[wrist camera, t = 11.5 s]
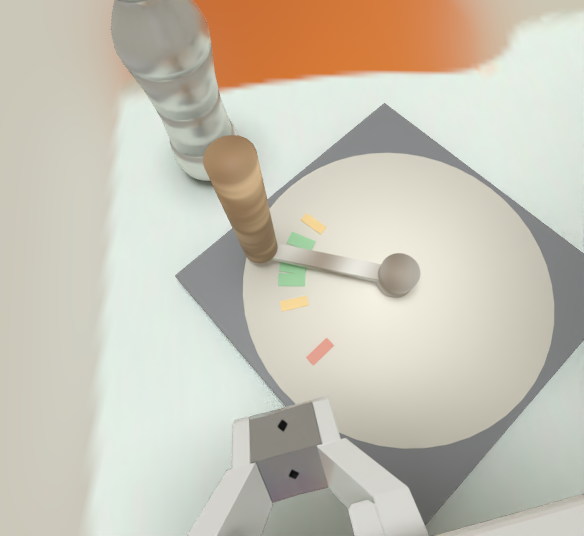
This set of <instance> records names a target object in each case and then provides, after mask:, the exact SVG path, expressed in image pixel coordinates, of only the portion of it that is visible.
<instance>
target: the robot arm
mask: <svg viewBox="0 0 584 536" xmlns="http://www.w3.org/2000/svg"><path fill="white" fill-rule="evenodd" d="M312 402H313V403H312ZM328 487H329V489H330V490H331V491H332V492H333V493H334V494H335V496H336V497H337V498H338V499H339V500H340V501H341V502H342V503H343V504H344V505H345V506H346V508H347V509H348V511H349V515H350V520H351V524H352V528H353V532H354V536H429V534H428V532H427V529H426V527H425V525H424V522H423V520H422V518H421V515H420V513H419V511H418V509H417V506H416V504H415V502H414V499H413V497H412V495H411V492H410V490H409V488H408V487H407V486H406V485H405V484H404V483H402V482H401V481H400V480H398V479H397V478H396V477H395V476H393V475H392V474H391V473H390V472H388V471H387V470H386V469H385V468H383V467H382V466H381V465H379V464H378V463H377V462H376V461H374V460H373V459H372V458H371V457H369V456H368V455H367V454H365V453H364V452H363V451H362V450H360V449H359V448H358V447H357V446H355V445H354V444H353V443H351V442H350V441H349V440H348V439H346V438H343V439H341V438H340V434H339V431H338V428H337V424H336V421H335V417H334V414H333V411H332V407H331V404H330V400H329V397H328V396H324V397H320V398H316V399H313V400H309V401H306V402H302V403H298V404H295V405H291V406H288V407H284V408H281V409H278V410H274V411H270V412H266V413H261V414H257V415H253V416H250V417H246V418H242V419H238V420H234V423H233V432H232V469H229V470H227V471H226V472H225V474H224V476H223V477H222V479H221V481H220V482H219V484H218V486H217V487H216V489H215V490H214V492H213V494H212V495H211V497H210V499H209V500H208V502H207V504H206V505H205V507H204V508H203V510H202V512H201V513H200V515H199V517H198V518H197V520H196V522H195V523H194V525H193V526H192V528H191V530H190V531H189V533H188V535H187V536H261V535H262V532H263V530H264V527H265V524H266V522H267V519H268V516H269V514H270V511H271V509H272V506H273V502H277V501H280V500H283V499H286V498H290V497H293V496H296V495H299V494H303V493H307V492H311V491H316V490H320V489H324V488H328ZM434 536H584V494H582V495H578V496H574V497H571V498H567V499H564V500H560V501H556V502H553V503H549V504H546V505H542V506H539V507H535V508H531V509H528V510H524V511H521V512H517V513H513V514H510V515H506V516H503V517H499V518H495V519H492V520H488V521H485V522H481V523H478V524H474V525H470V526H467V527H463V528H460V529H456V530H452V531H449V532H445V533H442V534H438V535H434Z"/></svg>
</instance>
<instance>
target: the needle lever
mask: <svg viewBox="0 0 584 536" xmlns="http://www.w3.org/2000/svg"><path fill="white" fill-rule="evenodd" d="M203 165H204V168H205V170H206V172H207V175H208V177H209V179H210V181H211V183H212V185H213V187H214V189H215V192H216V194H217V196H218V198H219V200H220V202H221V204H222V206H223V209H224V211H225V213H226V215H227V217H228V219H229V221H230V223H231V226H232V228H233V230H234V232H235V234H236V236H237V238H238V240H239V242H240V245H241V247H242V249H243V251H244V253H245V255H246V257H247V258H248V259H249V260H250V261H252V262H254V263H266V262H268V261H270V260H274V261H279V262H284V263H288V264H293V265H298V266H303V267H308V268H312V269H317V270H322V271H327V272H331V273H336V274H341V275H346V276H350V277H355V278H360V279H365V280H370V281H374V282H377V285H378V287H379V289H380V290H381V291H382V292H383V293H384V294H386V295H388V296H391V297H402V296H404V295H406V294H407V293H408V292H409V291H410V290H411V289H412V288H413V287H414V286H415V285H416V284H417V283H418V281H419V279H420V268H419V265H418V263H417V262H416V261H415V260H414V259H413V258H412V257H411V256H409V255H406V254H403V253H395V254H392V255H389V256H388V257H386V258H385V259H384V261H383V262H382V264H377V263H372V262H367V261H362V260H357V259H352V258H347V257H342V256H337V255H333V254H328V253H323V252H318V251H313V250H308V249H303V248H298V247H293V246H288V245H283V244H278V243H277V240H276V236H275V232H274V227H273V223H272V218H271V214H270V210H269V205H268V201H267V196H266V192H265V188H264V183H263V179H262V174H261V170H260V165H259V161H258V157H257V152H256V149H255V147H254V145H253V144H252V143H251V142H250V141H249V140H248V139H246V138H244V137H241V136H237V135H228V136H223V137H220V138H218V139H216V140H215V141H213V142H212V143H211V144H210V145H209V146H208V147H207V149H206V150H205V152H204V155H203Z"/></svg>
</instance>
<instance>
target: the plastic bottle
mask: <svg viewBox="0 0 584 536" xmlns="http://www.w3.org/2000/svg"><path fill="white" fill-rule="evenodd" d="M111 31H112V38H113V43H114V47H115V50H116V52H117V54H118V56H119V57H120V59H121V60H122V62H123V64H124V65H125V66H126V68H127V69H128V70H129V71H130V73H131V74H132V76H133V77H134V78H135V79H136V81H137V82H138V83H139V85H140V86H141V87H142V89H143V90H144V91H145V93H146V94H147V96H148V97H149V99H150V101H151V102H152V104H153V106H154V107H155V109H156V110H157V112H158V114H159V115H160V117H161V119H162V121H163V124H164V126H165V129H166V131H167V133H168V136H169V138H170V144H171V148H172V151H173V154H174V157H175V159H176V162H177V163H178V164H179V166H180V167H181V168H182V169H183V170H184V171H185V172H186V173H187V174H188V175H189V176H191V177H193V178H195V179H198V180H204V181H210V179H209V177H208V175H207V172H206V170H205V168H204V165H203V155H204V152H205V150H206V149H207V147H208V146H209V145H210V144H211V143H212V142H213V141H215V140H216V139H218V138H220V137H223V136H228V135H237V136H238V134H237V132H236V130H235V128H234V126H233V124H232V123H231V121H230V120H229V118H228V115H227V113H226V111H225V108H224V106H223V103H222V101H221V98H220V94H219V90H218V85H217V81H216V77H215V72H214V64H213V54H212V46H211V39H210V34H209V28H208V24H207V22H206V19H205V17H204V16H203V14H202V12H201V11H200V9H199V7H198V6H197V5H196V4H195V2H194V1H193V0H115V1H114V6H113V12H112V22H111Z"/></svg>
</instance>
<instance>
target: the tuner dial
mask: <svg viewBox="0 0 584 536" xmlns="http://www.w3.org/2000/svg"><path fill="white" fill-rule="evenodd" d="M267 201H268V205H269V210H270V214H271V218H272V223H273V227H274V232H275V236H276V240H277V243H278V244H283V245H288V246H293V247H298V248H303V249H308V250H313V251H318V252H323V253H328V254H333V255H337V256H342V257H347V258H352V259H357V260H362V261H367V262H372V263H377V264H382V262H383V261H384V259H385V258H386V257H388V256H389V255H392V254H395V253H403V254H406V255H409V256H411V257H412V258H413V259H414V260H415V261H416V262H417V263H418V265H419V268H420V279H419V281H418V283H417V284H416V285H415V286H414V287H413V288H412V289H411V290H410V291H409V292H408V293H407V294H406V295H404V296H402V297H391V296H388V295H386V294H384V293H383V292H382V291H381V290H380V289H379V287H378V285H377V282H374V281H370V280H365V279H360V278H355V277H350V276H346V275H341V274H336V273H331V272H327V271H322V270H317V269H312V268H308V267H303V266H298V265H293V264H288V263H284V262H279V261H274V260H270V261H268V262H266V263H254V262H252V261H250V260H249V259H248V258H247V257H246V255H245V253H244V251H243V249H242V247H241V245H240V242H239V240H238V238H237V236H236V234H235V232H234V230H233V228H232V229H231V230H230V231H229V232H227V233H226V234H225V235H224V236H223V237H221V238H220V239H219V240H218V241H216V242H215V243H214V244H213V245H212V246H210V247H209V248H208V249H207V250H206V251H204V252H203V253H202V254H201V255H199V256H198V257H197V258H196V259H195V260H193V261H192V262H191V263H190V264H189V265H187V266H186V267H185V268H184V269H183V270H181V271H180V272H179V273H178V274H176V275H175V277H176V278H177V279H178V280H179V281H180V283H181V284H182V285H183V286H184V287H185V288H186V290H187V291H188V292H189V293H190V294H191V296H192V297H193V298H194V299H195V300H196V301H197V303H198V304H199V305H200V306H201V307H202V308H203V310H204V311H205V312H206V313H207V314H208V315H209V317H210V318H211V319H212V320H213V321H214V323H215V324H216V325H217V326H218V327H219V328H220V330H221V331H222V332H223V333H224V334H225V335H226V337H227V338H228V339H229V340H230V341H231V342H232V344H233V345H234V346H235V347H236V348H237V350H238V351H239V352H240V353H241V354H242V355H243V357H244V358H245V359H246V360H247V361H248V362H249V364H250V365H251V366H252V367H253V368H254V369H255V371H256V372H257V373H258V374H259V375H260V376H261V378H262V379H263V380H264V381H265V382H266V384H267V385H268V386H269V387H270V388H271V389H272V391H273V392H274V393H275V394H276V395H277V396H278V398H279V399H280V400H281V401H282V402H283V403H284V405H285V406H286V407H288V406H291V405H295V404H298V403H302V402H306V401H309V400H313V399H316V398H320V397H324V396H328V397H329V400H330V404H331V407H332V411H333V414H334V417H335V421H336V424H337V428H338V431H339V434H340V438H341V439H343V438H346V439H348V440H349V441H350V442H351V443H353V444H354V445H355V446H357V447H358V448H359V449H360V450H362V451H363V452H364V453H365V454H367V455H368V456H369V457H371V458H372V459H373V460H374V461H376V462H377V463H378V464H379V465H381V466H382V467H383V468H385V469H386V470H387V471H388V472H390V473H391V474H392V475H393V476H395V477H396V478H397V479H398V480H400V481H401V482H402V483H404V484H405V485H406V486H407V487H408V488H409V490H410V492H411V495H412V497H413V499H414V502H415V504H416V506H417V509H418V511H419V513H420V515H421V518H422V520H423V522H424V525H426V524H427V523H428V521H429V520H430V519H431V518H432V517H433V516H434V514H435V513H436V512H437V511H438V510H439V509H440V507H441V506H442V505H443V504H444V503H445V501H446V500H447V499H448V498H449V497H450V496H451V494H452V493H453V492H454V491H455V490H456V489H457V487H458V486H459V485H460V484H461V483H462V482H463V480H464V479H465V478H466V477H467V476H468V475H469V473H470V472H471V471H472V470H473V469H474V468H475V466H476V465H477V464H478V463H479V462H480V461H481V459H482V458H483V457H484V456H485V455H486V454H487V452H488V451H489V450H490V449H491V448H492V447H493V445H494V444H495V443H496V442H497V441H498V440H499V438H500V437H501V436H502V435H503V434H504V433H505V431H506V430H507V429H508V428H509V427H510V425H511V424H512V423H513V422H514V421H515V420H516V418H517V417H518V416H519V415H520V414H521V413H522V411H523V410H524V409H525V408H526V407H527V406H528V404H529V403H530V402H531V401H532V400H533V399H534V397H535V396H536V395H537V394H538V393H539V392H540V390H541V389H542V388H543V387H544V386H545V385H546V383H547V382H548V381H549V380H550V379H551V378H552V376H553V375H554V374H555V373H556V372H557V371H558V369H559V368H560V367H561V366H562V365H563V364H564V362H565V361H566V360H567V359H568V358H569V357H570V355H571V354H572V353H573V352H574V351H575V349H576V348H577V347H578V346H579V345H580V344H581V342H582V341H583V340H584V254H583V253H582V252H581V251H580V250H578V249H577V248H576V247H574V246H573V245H572V244H570V243H569V242H568V241H566V240H565V239H564V238H562V237H561V236H560V235H558V234H557V233H556V232H554V231H553V230H552V229H550V228H549V227H548V226H546V225H545V224H544V223H542V222H541V221H540V220H539V219H537V218H536V217H535V216H533V215H532V214H531V213H529V212H528V211H527V210H525V209H524V208H523V207H521V206H520V205H519V204H517V203H516V202H515V201H513V200H512V199H511V198H509V197H508V196H507V195H505V194H504V193H503V192H501V191H500V190H499V189H498V188H496V187H495V186H494V185H492V184H491V183H490V182H488V181H487V180H486V179H484V178H483V177H482V176H480V175H479V174H478V173H476V172H475V171H474V170H472V169H471V168H470V167H468V166H467V165H466V164H464V163H463V162H462V161H460V160H459V159H458V158H457V157H455V156H454V155H453V154H451V153H450V152H449V151H447V150H446V149H445V148H443V147H442V146H441V145H439V144H438V143H437V142H435V141H434V140H433V139H431V138H430V137H429V136H427V135H426V134H425V133H423V132H422V131H421V130H419V129H418V128H417V127H416V126H414V125H413V124H412V123H410V122H409V121H408V120H406V119H405V118H404V117H402V116H401V115H400V114H398V113H397V112H396V111H394V110H393V109H392V108H390V107H389V106H388V105H386V104H385V103H384V104H383V105H381V106H380V107H379V108H378V109H377V110H375V111H374V112H373V113H372V114H371V115H369V116H368V117H367V118H366V119H364V120H363V121H362V122H361V123H360V124H358V125H357V126H356V127H355V128H354V129H352V130H351V131H350V132H349V133H348V134H346V135H345V136H344V137H343V138H341V139H340V140H339V141H338V142H337V143H335V144H334V145H333V146H332V147H331V148H329V149H328V150H327V151H326V152H324V153H323V154H322V155H321V156H320V157H318V158H317V159H316V160H315V161H314V162H312V163H311V164H310V165H309V166H307V167H306V168H305V169H304V170H303V171H301V172H300V173H299V174H298V175H297V176H295V177H294V178H293V179H292V180H290V181H289V182H288V183H287V184H286V185H284V186H283V187H282V188H281V189H280V190H278V191H277V192H276V193H275V194H274V195H272V196H271V197H270V198H269V199H267ZM312 403H313V402H312Z"/></svg>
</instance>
